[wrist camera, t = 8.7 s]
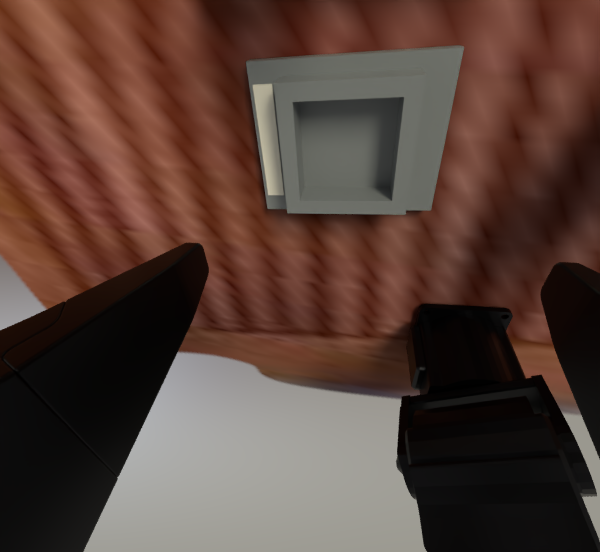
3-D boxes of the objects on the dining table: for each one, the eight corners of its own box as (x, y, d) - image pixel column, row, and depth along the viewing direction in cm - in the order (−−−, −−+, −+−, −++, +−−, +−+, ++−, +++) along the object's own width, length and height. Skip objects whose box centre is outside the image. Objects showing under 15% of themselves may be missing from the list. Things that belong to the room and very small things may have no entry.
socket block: (460, 45, 15) (474, 51, 13) (428, 204, 20) (435, 226, 18) (250, 59, 17) (234, 67, 15) (270, 203, 22) (260, 223, 20)
